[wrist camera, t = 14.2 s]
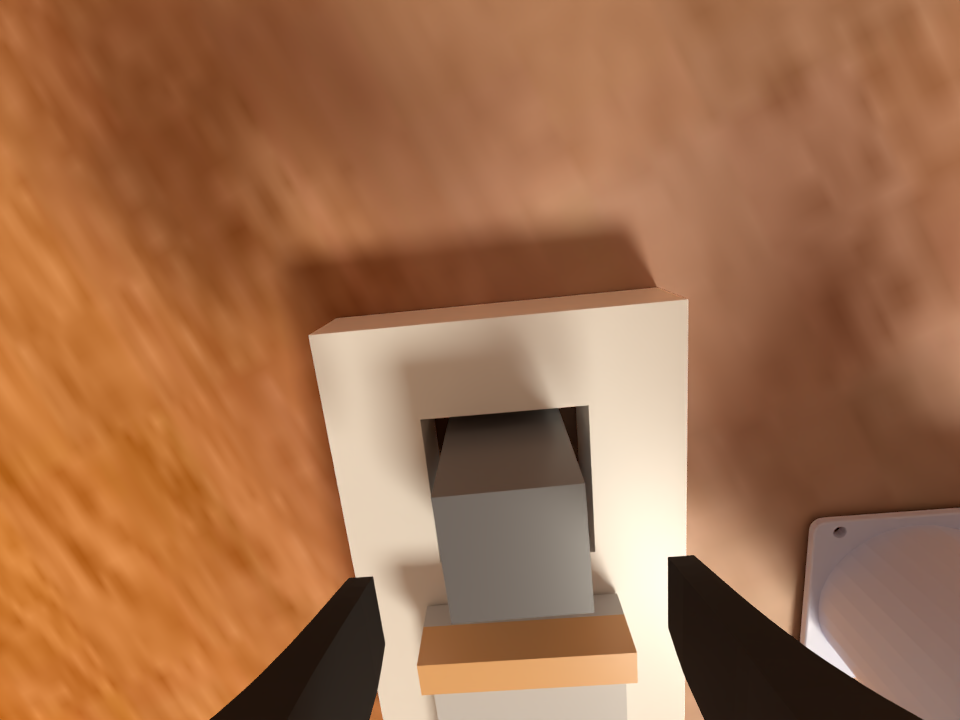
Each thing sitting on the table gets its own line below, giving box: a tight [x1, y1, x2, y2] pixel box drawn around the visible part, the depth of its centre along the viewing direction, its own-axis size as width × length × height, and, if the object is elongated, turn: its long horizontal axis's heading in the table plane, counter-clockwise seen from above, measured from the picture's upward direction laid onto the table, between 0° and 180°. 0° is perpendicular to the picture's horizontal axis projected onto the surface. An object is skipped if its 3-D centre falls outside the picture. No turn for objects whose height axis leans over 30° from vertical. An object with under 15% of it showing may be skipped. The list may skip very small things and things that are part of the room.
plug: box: [431, 408, 595, 624], centre depth 17 cm, size 4×4×7 cm
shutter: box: [417, 594, 638, 720], centre depth 18 cm, size 7×7×3 cm
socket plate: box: [308, 287, 688, 720], centre depth 20 cm, size 12×20×3 cm, turn 6°
